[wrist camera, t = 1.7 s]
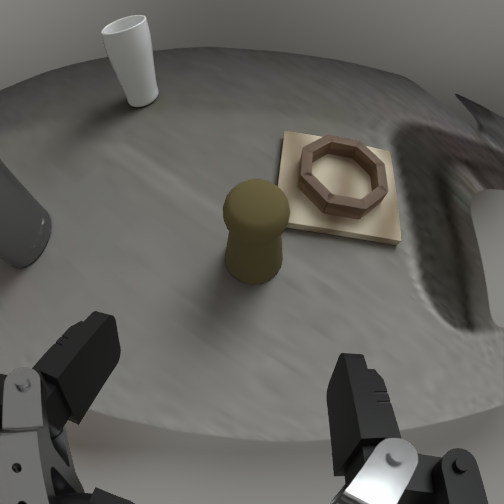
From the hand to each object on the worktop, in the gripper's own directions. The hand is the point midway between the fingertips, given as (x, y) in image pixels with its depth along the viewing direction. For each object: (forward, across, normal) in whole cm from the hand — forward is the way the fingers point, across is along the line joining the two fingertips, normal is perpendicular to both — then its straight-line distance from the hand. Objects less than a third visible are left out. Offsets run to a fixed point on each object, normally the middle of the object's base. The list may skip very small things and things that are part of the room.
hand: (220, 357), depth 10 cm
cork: (+22, 0, +5) cm, 22 cm away
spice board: (+29, -9, -3) cm, 31 cm away
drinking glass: (+39, +22, -13) cm, 47 cm away
